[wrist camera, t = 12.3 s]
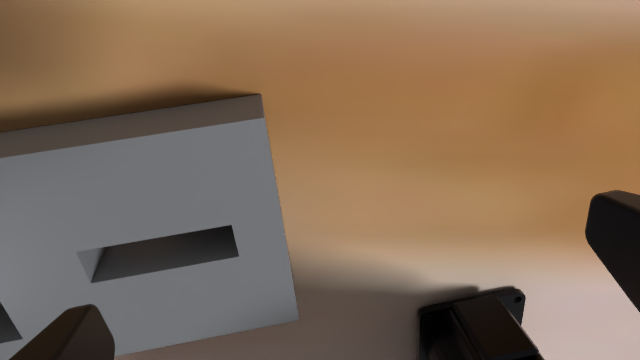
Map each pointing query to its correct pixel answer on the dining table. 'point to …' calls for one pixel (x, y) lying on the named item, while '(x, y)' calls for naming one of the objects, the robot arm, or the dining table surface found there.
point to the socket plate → (144, 226)
